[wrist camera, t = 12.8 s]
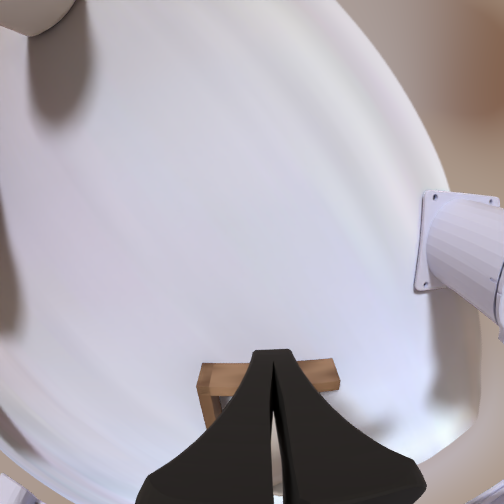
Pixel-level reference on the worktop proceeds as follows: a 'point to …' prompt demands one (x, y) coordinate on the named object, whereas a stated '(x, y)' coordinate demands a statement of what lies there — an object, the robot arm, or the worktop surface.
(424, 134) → the worktop surface
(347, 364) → the worktop surface
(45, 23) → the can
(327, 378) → the box
